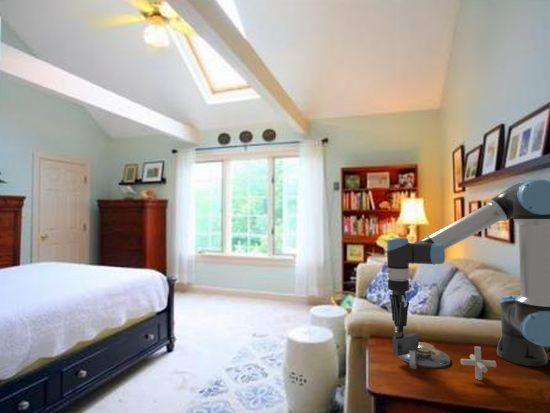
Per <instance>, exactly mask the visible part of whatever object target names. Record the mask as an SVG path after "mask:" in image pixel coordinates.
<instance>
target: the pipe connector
mask: <svg viewBox="0 0 550 413" xmlns="http://www.w3.org/2000/svg"><path fill="white" fill-rule="evenodd" d="M473 347H474V354H473V353H472V354H471V353H470V355H469V358H460V364H461V366H462V365H463V366H474V370H475V371H474V373H475V380H477V379H478V381H483V373H488V367H491V368H492V367H493V368H496V367H497V362H496V360H486V359H485V360H484V359H482V348H481V346H476V345H475V346H473Z"/></svg>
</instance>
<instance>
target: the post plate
mask: <svg viewBox="0 0 550 413" xmlns="http://www.w3.org/2000/svg"><path fill="white" fill-rule="evenodd" d="M435 350H437V351H439V352H440V354H439V355H434V354H431V353H423V352H417V350H415V349H410V350H409V354H405V355H400V356H397V357H398V358H399V359H400V360H401V361H403V362H405V363H406V364H409V368H410V369H412V370H416V369H418V367H419V368H426V369H440V368H445V367H448V366H449V365H450V364H451V357H450V356H449V355H448V353H447V352H444V351H443V350H439V349H437V348H435Z"/></svg>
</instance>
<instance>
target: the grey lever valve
mask: <svg viewBox="0 0 550 413" xmlns="http://www.w3.org/2000/svg"><path fill="white" fill-rule="evenodd" d="M410 349H415V350H417V352H423V353H431V354H434V355H439V354H440V352H439V351H437V350H435V349H436V348H435V345H433V344H430V343H427V342H423V341H422V342H421V341H419V334H417V333H414V332H411V333H406V334H405V333H404V335H402V331H399V330H395V329H394V331H393V336H392V354H393V355H395V356H397V357H398V356H400V355H405V354H409V350H410Z"/></svg>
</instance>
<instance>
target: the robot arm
mask: <svg viewBox="0 0 550 413" xmlns="http://www.w3.org/2000/svg"><path fill="white" fill-rule="evenodd" d="M512 218H513V221H514V222H515V223H516V224H518V236H519V237H518V240H519V241H518V242H519V244H518V245H519V279H520V286H519V287H520V294H504V295H502V296H500V303H499V304H500V317H501V318H500V319H501V324H500V325H501V335H500V339H499V341H498V343H497V346H496V354H497V356H498V357H499V358H501V359H503V360H504V361H508V362H509V363H513V364H517V365H520V366H527V367H543V366H544V365H545V366H547V365H548V364H547V363H549V362H548V355H547V353H546V350H545V348H547V347H550V181H549V180H548V179H538V178H537V179H528V180H526V181H524V182H519V183H516V184H513V185H511V186H510V187H508V188H507V189H505V190H503V191H501V192H500V193H499V194H497V195H495V196H494V197H492V198H491V199H489V200H488V203H487V204H485V205H484V206H482V207H479V208H478V209H475V210H474V211H472V212H470V213H469V214H467V215H465V216H463V217H461V218H459V219H457V220H455V221H454V222H452V223H450V224H448V225H447V226H445V227H442V228H441V229H439V230H437V231H435V232H434V233H432V234H430V235H428V236H426V237H424V238H422V239H421V240H416V241H415V242H410V241H409V239H408V237H389V238H388V239H387V240H386V241H387V242H386V243H387V244H386V260H387V261H386V262H387V270H386V271H385V272H386V273H387V278H388V279H387V289H388V290H390V291H391V294H390V293H389V300H390V308H391V309H390V310H391V318H392V322H394V331H395V330H399V331H402V335H404V334H405V330H404V329H405V327H407V323H408V321H407V320H408V313H409V312H408V311H409V306H410V302H409V301H407V295H406V292H407V291H410V280H409V279H410V268H409V265H410V264H412V265H413V264H414V265H415V264H421V265H443V264H444V262H445V260H446V259H445V258H446V254H445V253H446V252H445V250H447V249H449V248H450V247H452V246H454V245H456V244H458V243H460V242H462V241H464V240H466V239H468V238H470V237H472V236H473V235H476V234H477V233H479V232H481V231H483V230H485V229H487V228H489V227H491V226H493V225H495V224H497V223H499V222H506V221H509V220H510V219H512ZM544 347H545V348H544ZM546 364H547V365H546Z"/></svg>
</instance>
